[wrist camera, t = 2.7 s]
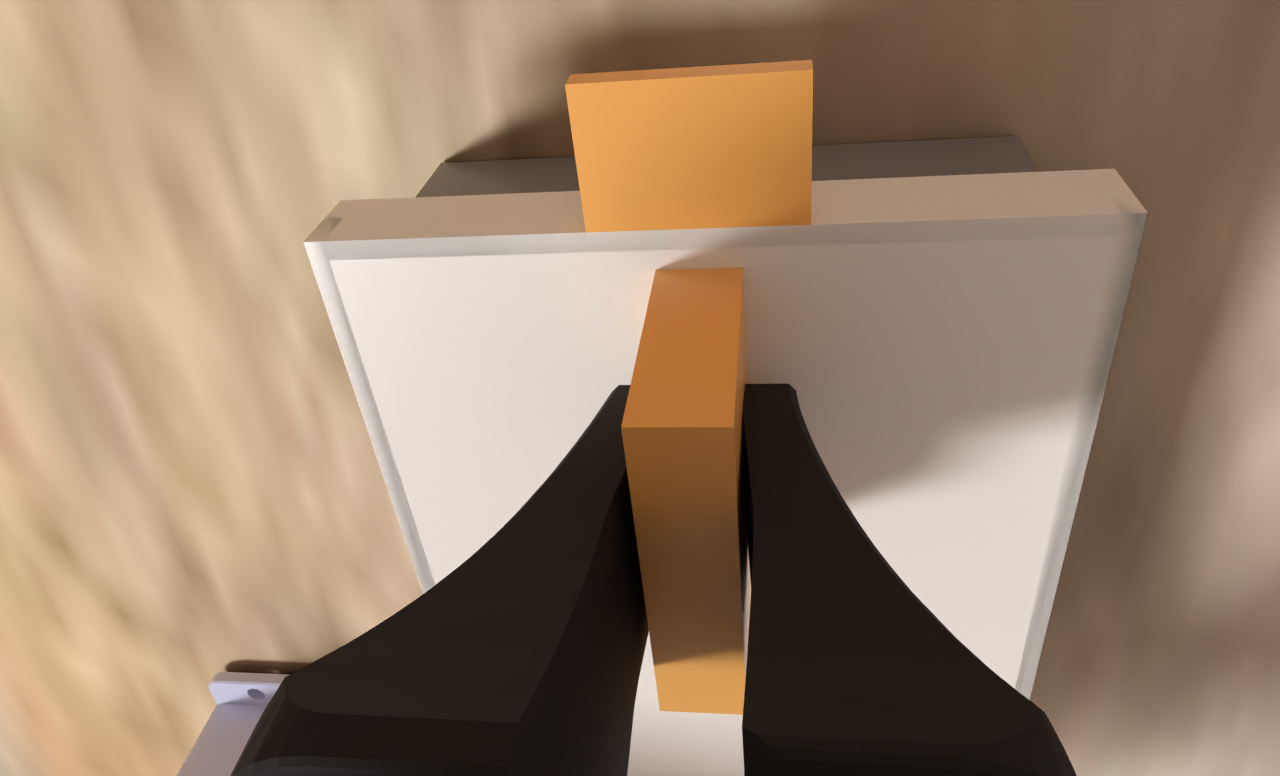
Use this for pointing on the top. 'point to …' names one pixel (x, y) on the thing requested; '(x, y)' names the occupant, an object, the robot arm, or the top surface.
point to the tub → (826, 165)
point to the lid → (743, 364)
